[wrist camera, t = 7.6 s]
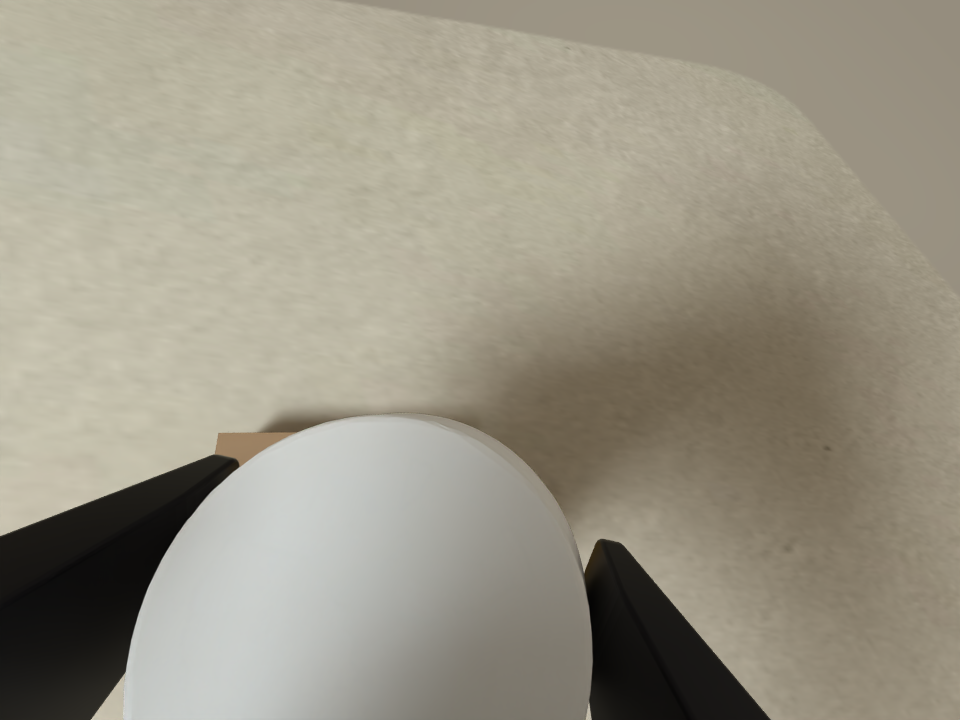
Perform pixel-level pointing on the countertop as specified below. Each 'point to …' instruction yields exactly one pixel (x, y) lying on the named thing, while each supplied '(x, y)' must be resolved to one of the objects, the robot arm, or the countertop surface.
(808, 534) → the countertop surface
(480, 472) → the supplement bottle
